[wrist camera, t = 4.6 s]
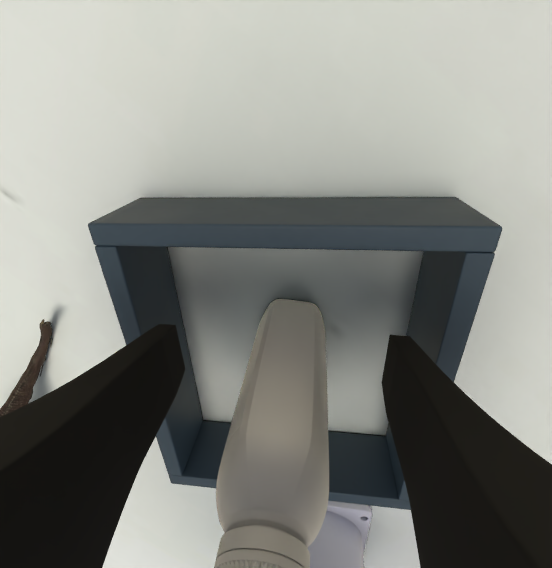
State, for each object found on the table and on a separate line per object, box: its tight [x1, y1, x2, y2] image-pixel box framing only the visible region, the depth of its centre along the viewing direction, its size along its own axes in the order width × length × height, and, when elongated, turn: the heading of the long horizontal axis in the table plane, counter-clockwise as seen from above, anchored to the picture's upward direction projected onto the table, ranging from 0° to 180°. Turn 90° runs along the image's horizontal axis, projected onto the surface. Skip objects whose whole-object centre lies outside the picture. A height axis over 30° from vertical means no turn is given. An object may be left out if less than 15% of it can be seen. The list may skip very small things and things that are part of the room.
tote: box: [88, 197, 502, 510], centre depth 15 cm, size 15×13×4 cm
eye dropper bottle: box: [214, 299, 329, 568], centre depth 11 cm, size 4×6×12 cm
